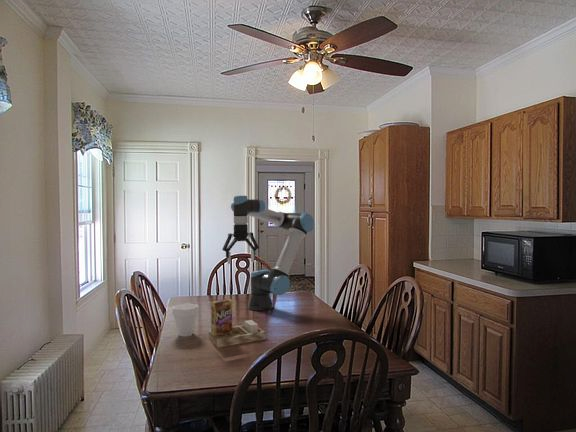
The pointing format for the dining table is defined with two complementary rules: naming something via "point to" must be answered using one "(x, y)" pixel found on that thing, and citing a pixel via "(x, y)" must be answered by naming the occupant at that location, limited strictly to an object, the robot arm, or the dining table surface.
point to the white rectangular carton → (250, 326)
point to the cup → (185, 318)
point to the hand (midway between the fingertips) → (241, 263)
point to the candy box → (221, 317)
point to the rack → (236, 336)
